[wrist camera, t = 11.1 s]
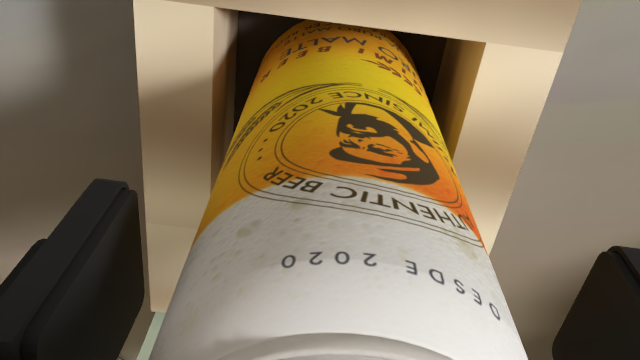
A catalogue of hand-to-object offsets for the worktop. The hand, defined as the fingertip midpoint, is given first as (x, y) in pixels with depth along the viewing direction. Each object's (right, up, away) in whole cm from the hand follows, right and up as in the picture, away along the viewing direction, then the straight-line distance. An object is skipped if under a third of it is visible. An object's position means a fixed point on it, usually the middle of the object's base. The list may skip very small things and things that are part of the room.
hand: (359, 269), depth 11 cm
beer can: (0, +5, +10) cm, 11 cm away
